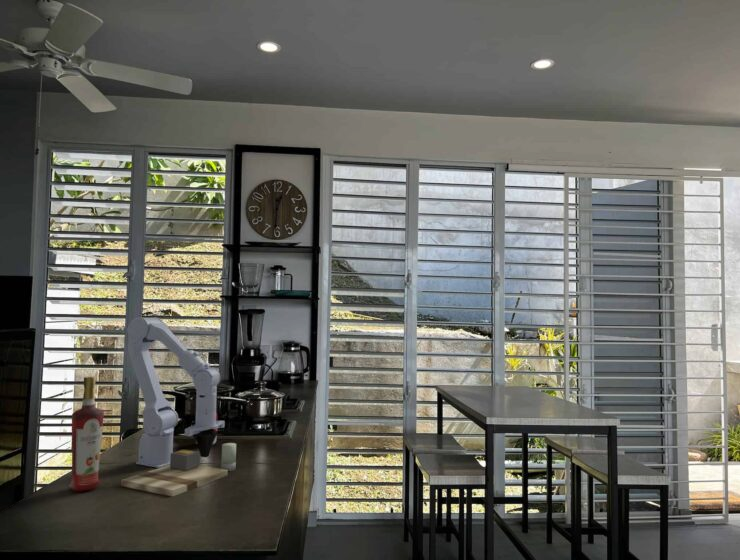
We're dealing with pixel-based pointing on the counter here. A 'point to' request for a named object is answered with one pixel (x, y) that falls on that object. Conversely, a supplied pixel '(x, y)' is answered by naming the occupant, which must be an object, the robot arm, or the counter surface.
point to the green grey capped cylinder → (228, 456)
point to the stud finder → (184, 460)
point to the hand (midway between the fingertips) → (204, 456)
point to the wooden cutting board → (173, 479)
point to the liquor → (86, 441)
